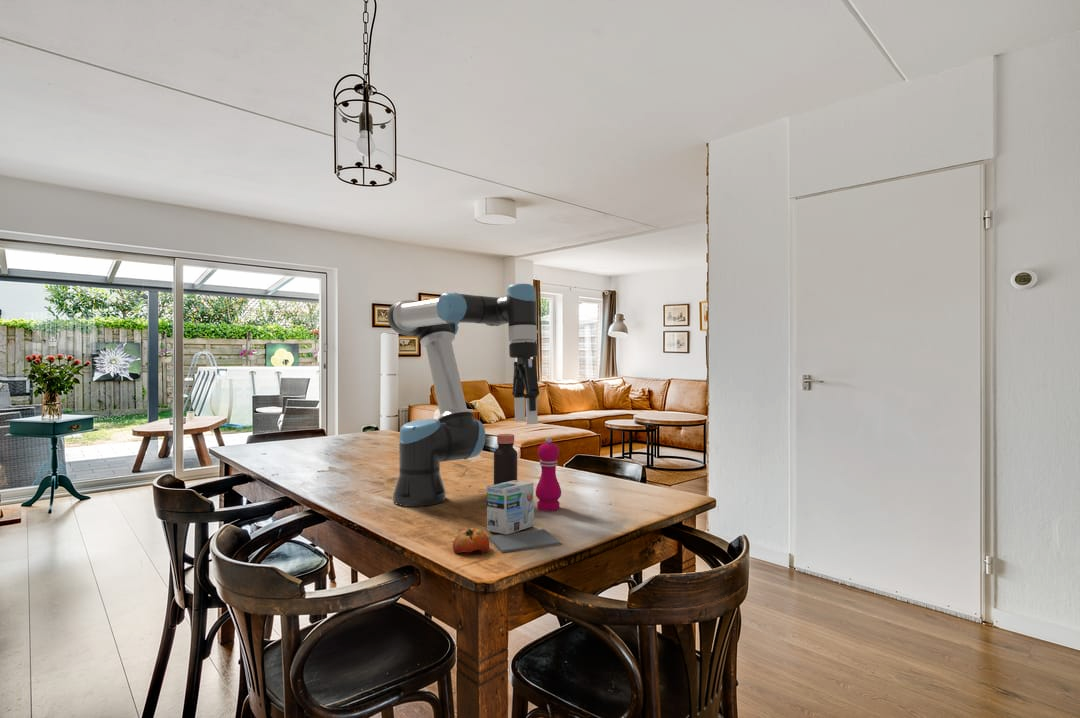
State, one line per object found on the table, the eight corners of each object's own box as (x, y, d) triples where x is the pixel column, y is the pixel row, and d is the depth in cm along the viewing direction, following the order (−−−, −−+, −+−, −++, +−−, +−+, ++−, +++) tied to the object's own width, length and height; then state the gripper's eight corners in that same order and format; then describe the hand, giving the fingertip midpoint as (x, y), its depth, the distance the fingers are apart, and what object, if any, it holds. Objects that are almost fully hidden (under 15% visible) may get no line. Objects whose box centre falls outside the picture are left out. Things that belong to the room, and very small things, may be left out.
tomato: (442, 542, 117) (464, 515, 119) (461, 557, 120) (482, 530, 123) (459, 558, 110) (481, 529, 113) (479, 574, 114) (500, 545, 116)
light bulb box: (506, 535, 124) (506, 488, 125) (485, 531, 128) (485, 486, 129) (535, 525, 133) (534, 482, 133) (514, 522, 137) (513, 479, 137)
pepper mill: (563, 511, 146) (563, 438, 147) (537, 512, 145) (538, 439, 145) (558, 504, 154) (558, 435, 154) (533, 505, 152) (533, 435, 152)
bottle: (495, 501, 157) (495, 433, 157) (518, 501, 156) (518, 433, 156) (492, 507, 150) (492, 436, 150) (516, 508, 150) (516, 436, 150)
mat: (488, 538, 124) (488, 536, 124) (543, 531, 129) (543, 529, 129) (501, 552, 115) (501, 550, 115) (560, 544, 120) (560, 542, 120)
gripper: (549, 337, 131) (552, 424, 129) (526, 346, 155) (528, 419, 154) (519, 338, 129) (522, 426, 128) (500, 346, 153) (502, 420, 152)
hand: (525, 422), depth 141 cm, fingers open, 13 cm apart
